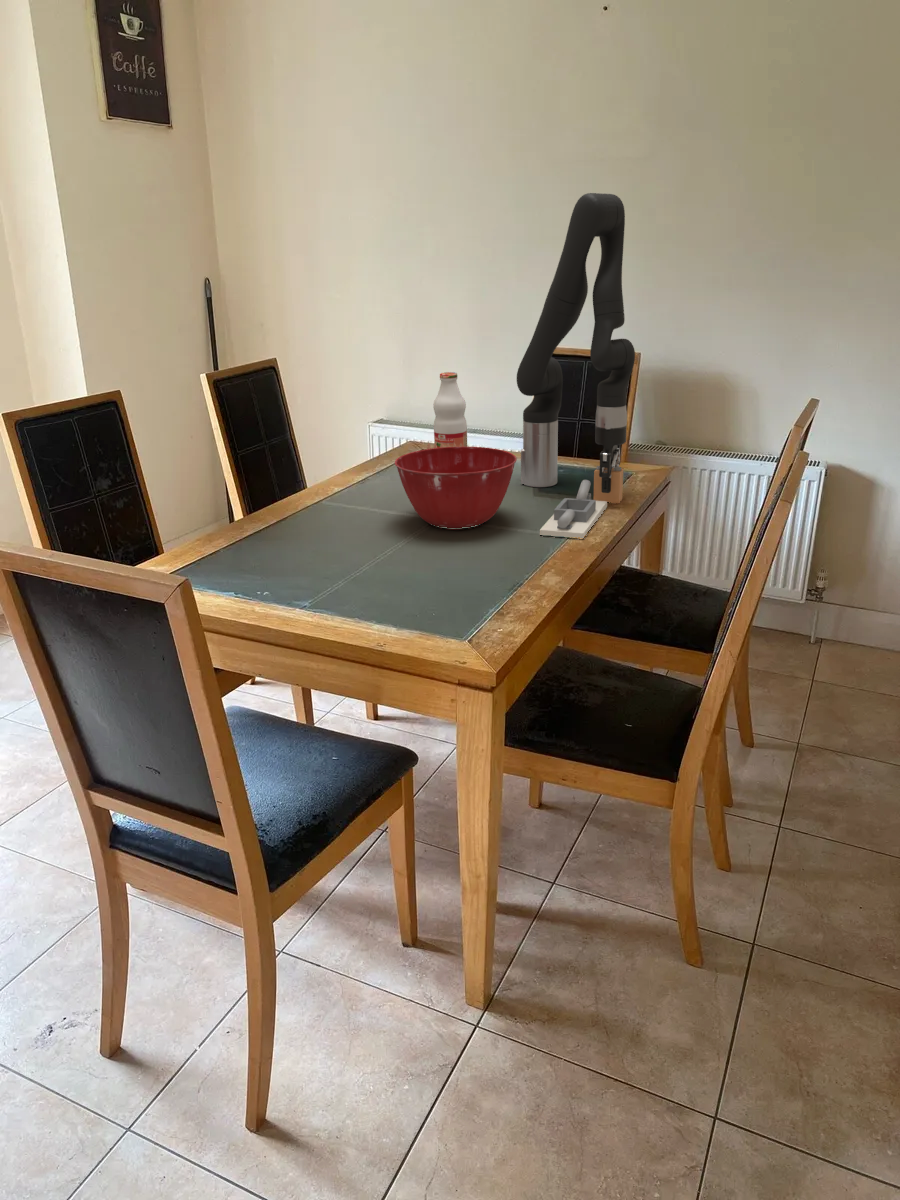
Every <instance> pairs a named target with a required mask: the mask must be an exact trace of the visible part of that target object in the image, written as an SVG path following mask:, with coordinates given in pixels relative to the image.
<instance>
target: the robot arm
mask: <svg viewBox="0 0 900 1200" xmlns="http://www.w3.org/2000/svg"><path fill="white" fill-rule="evenodd" d="M625 215H626V214H625V205H624V203H623V201H622V199H621V198H620V197H619V196H618V195H616V194H612V193H600V192H599V193H597V192H588V193H584V194H583V195H581V196H580V197H579V198H578V199H577V202H576V203H575V204H574V207H573V210H572V213H571V216H570V220H569V224H568V227H567V233H566V236H565V240H564V244H563V246H562V247H563V248H562V252H561V255H560V257H559V261H558V265H557V268H556V271H555V274H554V277H553V280H552V281H551V285H550V286H549V290H548V292H547V295H546V298H545V301H544V304H543V307H542V310H541V313H540V316H539V319H538V322H537V324H536V326H535V330H534V332H533V335H532V338H531V340H530V342H529V343H528V347H527V348H526V351H525V353H524V354H523V357H522V359H521V362H520V363H519V366H518V368H517V372H516V386H517V389H518V390H519V392H520V393H521V394H522V395H524V396H527V397H533V398H532V401H531V402H530V403H529V404H528V405H527V406H526V407H525V408H524V410H523V411H522V434H523V435H522V438H523V439H522V447H523V448H521V450H520V485H522V484H524V486H527V487H532V488H533V487H534V488H547V487H552V486H555V485H557V484H558V460H559V459H558V455H559V454H558V453H559V452H558V451H559V450H558V447H559V445H558V443H559V441H558V440H559V439H558V437H559V436H558V434H559V433H558V432H559V413H560V410H561V407H562V398H563V370H562V367H561V364H560V363H559V361H558V360H557V359H556V358H554V357H553V355H554V352H555V351H556V349H557V347H558V346H559V345H560V344H561V342H562V341H563V340H564V339H565V338H566V336H567V335H568V334H569V333H570V332H571V330H572V329H573V327H574V326H575V325H576V324H577V322H578V320H579V318H580V316H581V313H582V310H583V307H584V305H585V303H586V299H587V296H588V293H589V292H588V291H589V285H588V284H589V283H588V276H587V266H586V265H587V259H588V258H587V257H588V255H589V252H590V249H591V246H592V244H593V242H594V239H595V238H596V237H598V238H599V241H600V248H601V249H600V250H601V254H600V262H599V266H598V270H597V274H596V277H595V280H594V283H593V287H592V288H593V289H592V308H593V316H594V327H593V332H592V337H591V339H592V340H591V345H590V353H589V355H590V360H591V363H592V365H593V367H594V368H595V369H596V370H597V371H599V372H608V371H611V372H610V374H609V377H608V378H605V379H604V380H602V381H600V382H599V383H598V385H597V387H596V388H597V389H596V390H597V391H596V392H597V393H596V395H597V396H596V409H595V410H596V412H595V433H594V435H595V437H594V438H595V444H597V445H602V446H603V449H602V451H601V452H600V453H599V466H600V471H599V477H601V478H602V493H610V492H611V477H612V471H613V470H614V469H615V467H620V466H621V445H625V443H626V442H627V429H628V428H627V425H628V424H627V423H628V420H627V419H628V411H627V389H628V386H629V382H630V379H631V375H632V372H633V368H634V364H635V360H636V350H635V347H634V345H633V343H632V342H631V340H629V339H627V338H614V339H612V335H613V332H614V330H616V329H620V328H622V327H623V325H624V324H625V321H626V320H625V307H624V295H623V285H622V284H623V260H624V259H623V257H624V243H625V242H624V241H625V240H624V239H625V225H626V223H625V222H626V219H625V218H626V216H625ZM604 470H608V471H607V472H604Z"/></svg>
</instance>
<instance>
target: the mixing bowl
mask: <svg viewBox="0 0 900 1200" xmlns="http://www.w3.org/2000/svg"><path fill="white" fill-rule="evenodd" d="M517 459H518V458H517V456H516V455H515V454H514V453H512V452H509V451H507V450H506V451H505V450H503V449H500V448H499V449H498V448H492V447H485V446H484V447H483V446H467V447H441V448H434V447H431V449H427V448H426V449H420V450H415V451H411V452H408V453H405V454H403V455H400V456H399V457H397V458H396V459H395V461H394V465H395V467H396V468H397V473H398V475H399V479H400V481H401V484H402V486H403V490H404V491H405V492H404V493H405V494H406V496H407V498H408V500H409V502H410V504H411V506H412V507H413V509H414V511H415V513H416V514H417V515H418V516H419V518H421V520H423V521H424V522H426V523H428V524H429V525H431V524H432V525H435V526H439V527H447V528H462V527H471V526H475V525H479V524H482V523H484V522H485V523H486V522H488V521H489V520H490V519H491V518H493V516H494V515H495V514H496V513H498V510H499V508H500V507H501V504H502V502H503V500H504V499H505V496H506V494H507V490H508V489H509V486H510V483H511V479H512V476H513V472H514V470H515V469H514V467H515V464H516V462H517ZM485 523H484V524H485ZM432 525H431V526H432ZM482 525H483V524H482Z"/></svg>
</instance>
